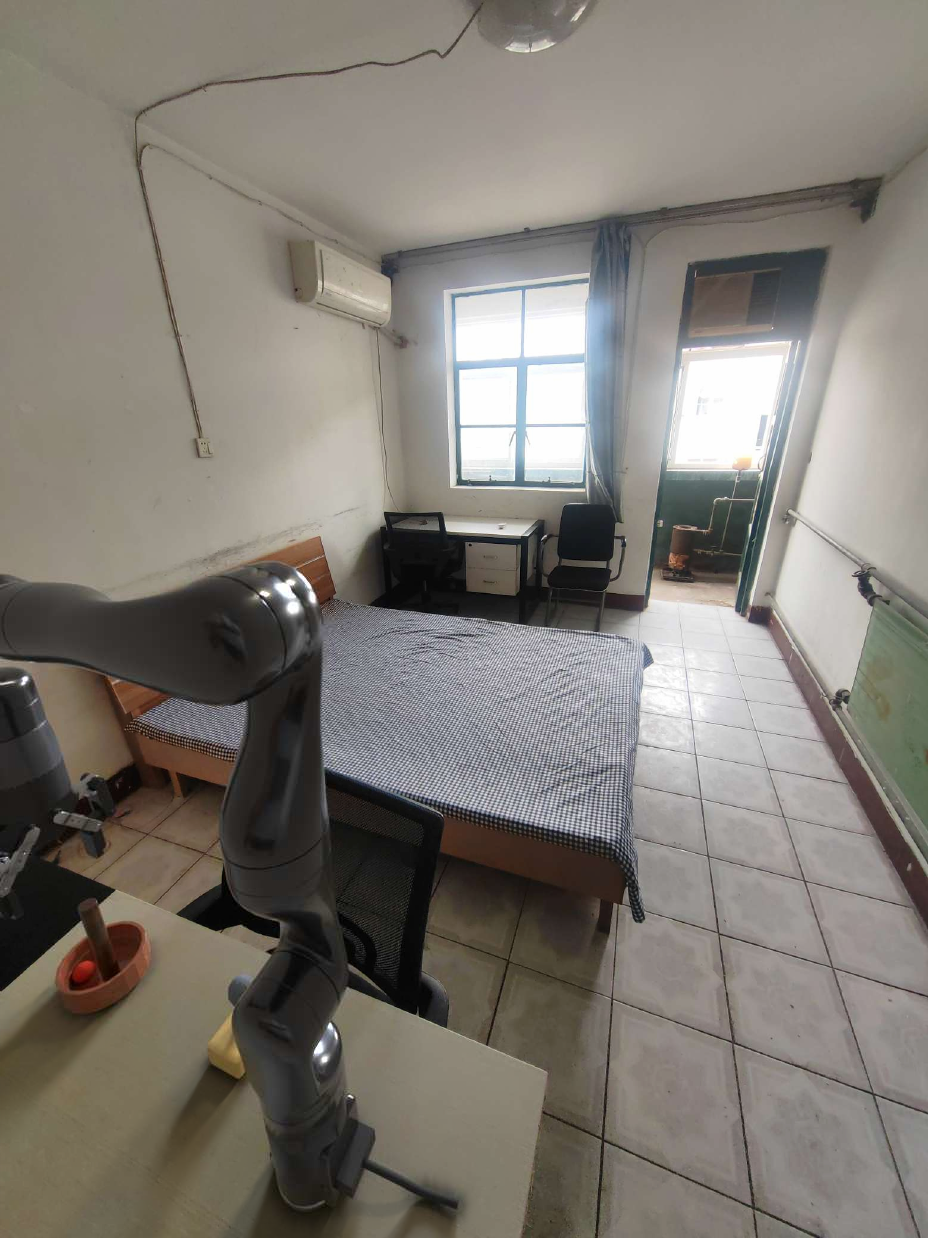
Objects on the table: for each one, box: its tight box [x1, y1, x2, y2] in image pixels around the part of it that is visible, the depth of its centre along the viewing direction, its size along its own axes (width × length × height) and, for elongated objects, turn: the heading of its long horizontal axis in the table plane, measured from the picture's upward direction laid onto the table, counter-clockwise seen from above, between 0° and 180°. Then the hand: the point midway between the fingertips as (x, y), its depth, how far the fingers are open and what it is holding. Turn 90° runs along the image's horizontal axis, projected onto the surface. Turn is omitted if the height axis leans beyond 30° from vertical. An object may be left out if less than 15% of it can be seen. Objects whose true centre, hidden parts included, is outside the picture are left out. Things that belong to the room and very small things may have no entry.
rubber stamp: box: [206, 973, 254, 1080], centre depth 69 cm, size 10×6×12 cm, turn 160°
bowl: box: [54, 920, 152, 1015], centre depth 78 cm, size 12×12×5 cm
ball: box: [72, 961, 95, 983], centre depth 77 cm, size 3×3×3 cm
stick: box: [77, 897, 120, 982], centre depth 76 cm, size 2×2×16 cm
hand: (58, 882), depth 54 cm, fingers open, 8 cm apart
